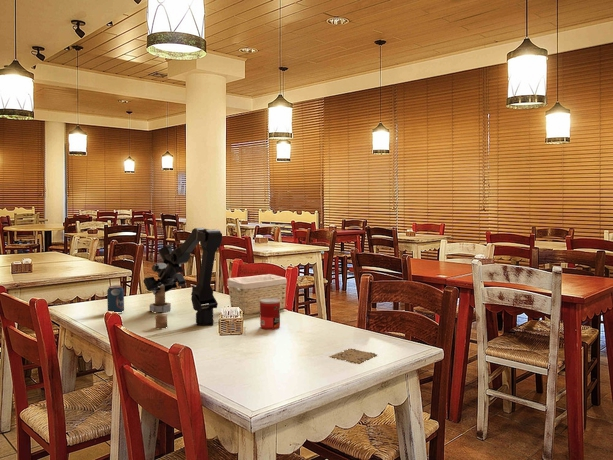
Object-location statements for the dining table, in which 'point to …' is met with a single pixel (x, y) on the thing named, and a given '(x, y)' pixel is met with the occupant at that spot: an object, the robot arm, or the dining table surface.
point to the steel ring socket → (160, 307)
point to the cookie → (354, 355)
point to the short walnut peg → (161, 320)
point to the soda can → (115, 298)
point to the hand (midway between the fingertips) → (158, 293)
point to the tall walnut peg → (160, 297)
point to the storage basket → (256, 291)
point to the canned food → (270, 313)
